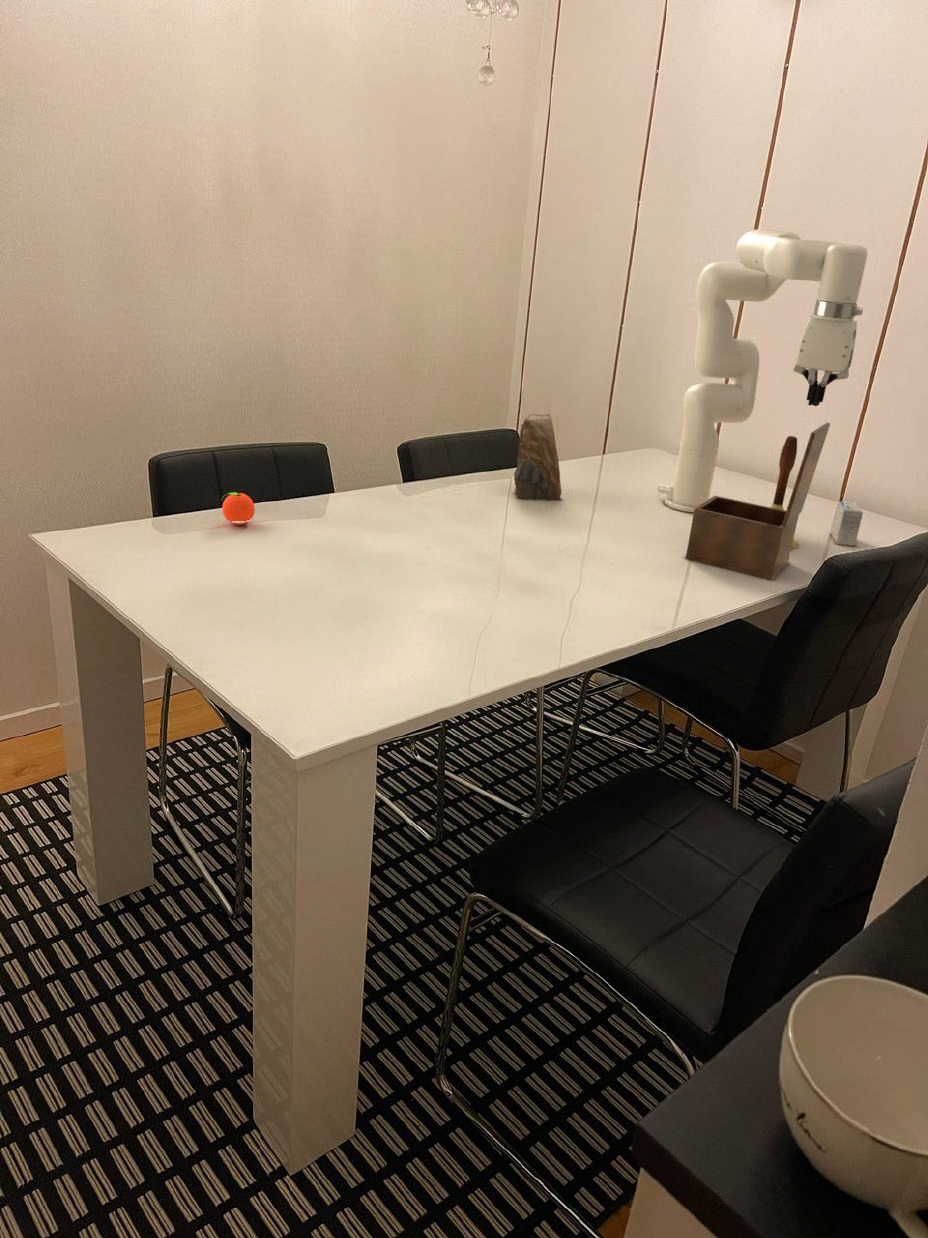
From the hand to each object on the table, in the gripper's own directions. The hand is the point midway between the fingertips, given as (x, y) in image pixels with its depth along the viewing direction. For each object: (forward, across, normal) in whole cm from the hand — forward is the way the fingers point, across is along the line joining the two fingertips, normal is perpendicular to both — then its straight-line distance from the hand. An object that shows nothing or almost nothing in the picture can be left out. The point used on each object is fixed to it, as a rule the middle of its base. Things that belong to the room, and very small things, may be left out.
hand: (813, 404), depth 192 cm
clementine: (+35, +103, +61) cm, 125 cm away
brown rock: (+35, +65, -10) cm, 75 cm away
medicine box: (+36, -8, -31) cm, 48 cm away
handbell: (+36, +6, -17) cm, 40 cm away
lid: (+14, -2, +3) cm, 14 cm away
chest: (+35, +8, +3) cm, 37 cm away
